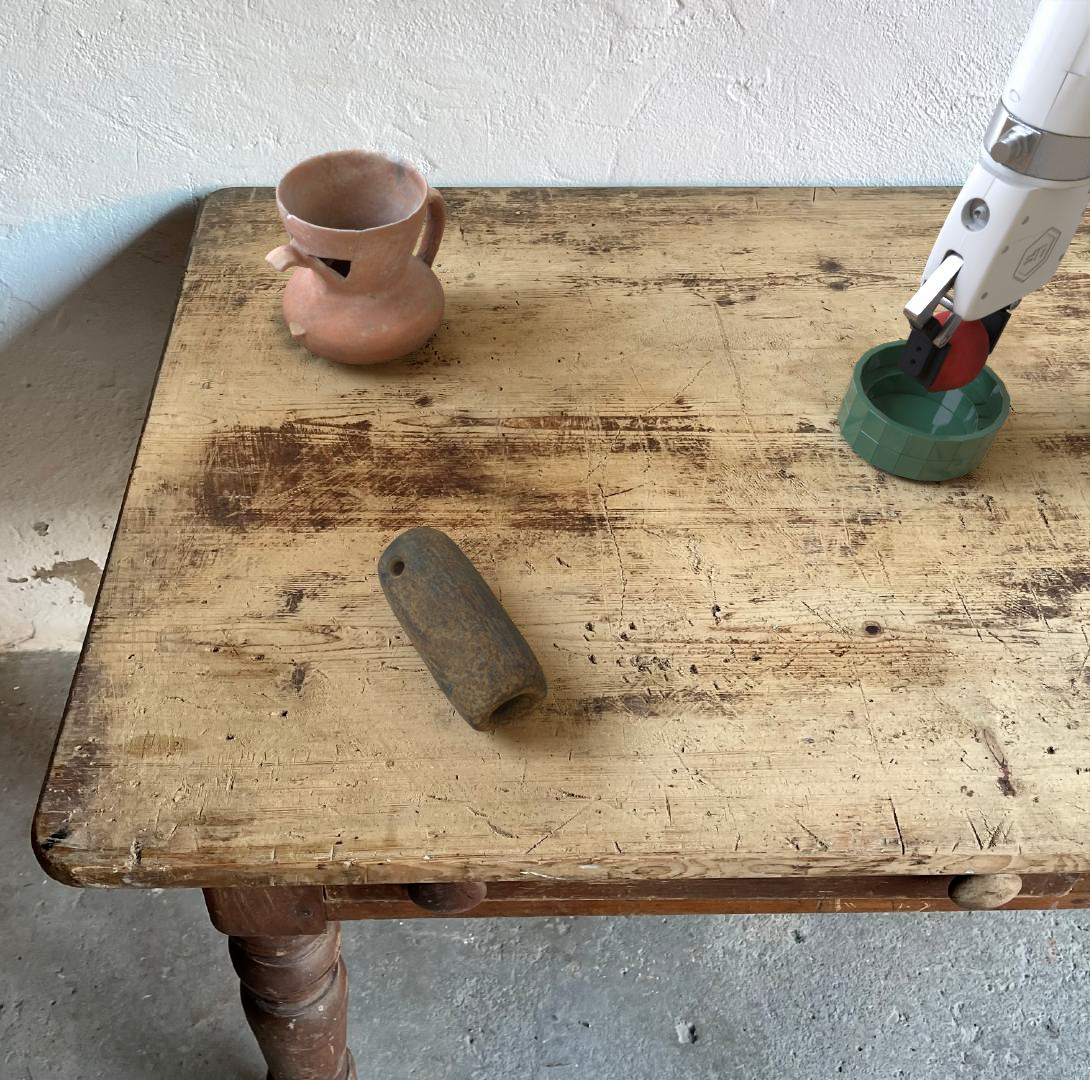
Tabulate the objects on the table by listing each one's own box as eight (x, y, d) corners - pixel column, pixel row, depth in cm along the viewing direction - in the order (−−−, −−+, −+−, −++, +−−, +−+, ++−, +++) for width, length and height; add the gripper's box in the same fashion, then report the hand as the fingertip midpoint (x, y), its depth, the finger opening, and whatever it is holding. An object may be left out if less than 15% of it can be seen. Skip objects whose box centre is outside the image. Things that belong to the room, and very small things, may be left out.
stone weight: (362, 605, 73) (354, 545, 67) (443, 564, 75) (441, 504, 70) (476, 758, 65) (476, 704, 60) (562, 707, 68) (569, 651, 62)
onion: (908, 356, 83) (945, 272, 76) (977, 383, 81) (1020, 300, 74) (881, 394, 80) (917, 310, 73) (952, 423, 78) (994, 340, 71)
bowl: (904, 368, 89) (924, 322, 85) (1015, 448, 83) (1043, 402, 79) (805, 419, 85) (822, 373, 81) (915, 507, 79) (939, 462, 75)
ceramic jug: (334, 411, 85) (313, 266, 74) (246, 328, 92) (214, 183, 81) (496, 328, 92) (500, 184, 81) (403, 256, 99) (394, 114, 88)
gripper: (1009, 204, 59) (904, 431, 73) (1182, 125, 65) (1053, 349, 79) (912, 148, 63) (829, 374, 77) (1083, 78, 69) (977, 300, 83)
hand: (944, 359), depth 78 cm, fingers closed on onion, 5 cm apart
